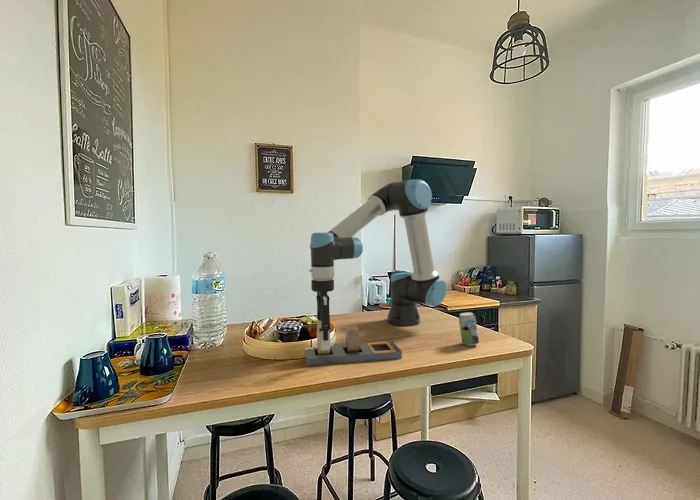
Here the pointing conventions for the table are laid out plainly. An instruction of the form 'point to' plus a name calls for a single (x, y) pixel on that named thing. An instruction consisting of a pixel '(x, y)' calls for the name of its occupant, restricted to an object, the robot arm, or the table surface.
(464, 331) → the beverage can
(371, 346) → the grey peg insertion board
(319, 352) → the pale yellow block
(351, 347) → the brown rectangular block
